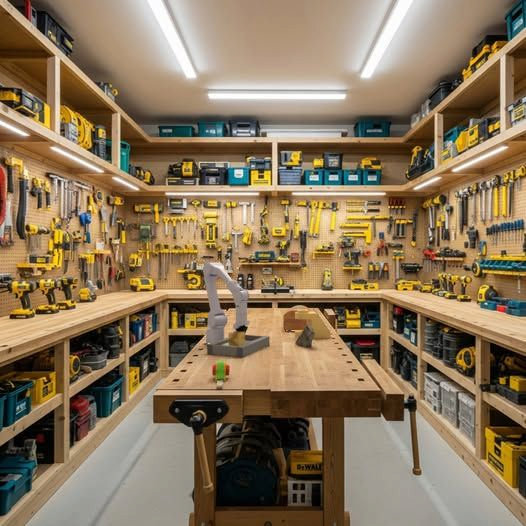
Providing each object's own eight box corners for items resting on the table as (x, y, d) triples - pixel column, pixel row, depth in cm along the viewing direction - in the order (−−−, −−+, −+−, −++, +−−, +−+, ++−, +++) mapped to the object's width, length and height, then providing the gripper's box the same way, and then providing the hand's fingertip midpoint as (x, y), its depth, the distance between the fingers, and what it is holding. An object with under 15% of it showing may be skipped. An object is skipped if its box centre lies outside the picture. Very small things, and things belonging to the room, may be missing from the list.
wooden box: (288, 324, 284) (287, 304, 284) (311, 325, 281) (311, 305, 281) (280, 331, 255) (280, 309, 255) (306, 332, 252) (306, 310, 252)
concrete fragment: (299, 341, 220) (299, 321, 220) (320, 348, 203) (320, 326, 203) (289, 342, 217) (289, 322, 217) (310, 349, 200) (310, 327, 200)
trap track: (207, 353, 191) (207, 344, 191) (237, 342, 219) (237, 334, 219) (242, 357, 183) (242, 347, 183) (269, 345, 211) (269, 336, 211)
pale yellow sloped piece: (296, 338, 229) (296, 310, 229) (294, 335, 238) (293, 309, 238) (330, 338, 230) (330, 310, 230) (327, 335, 240) (326, 308, 240)
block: (228, 345, 196) (228, 332, 196) (234, 342, 202) (234, 330, 202) (239, 346, 194) (239, 333, 194) (244, 343, 199) (244, 331, 199)
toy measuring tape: (230, 373, 156) (229, 357, 156) (228, 389, 137) (228, 370, 137) (213, 374, 156) (213, 357, 156) (209, 389, 137) (209, 370, 137)
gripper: (241, 316, 194) (241, 344, 194) (254, 312, 207) (254, 338, 207) (229, 315, 197) (229, 342, 197) (242, 312, 210) (242, 337, 210)
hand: (241, 340), depth 202 cm, fingers closed
